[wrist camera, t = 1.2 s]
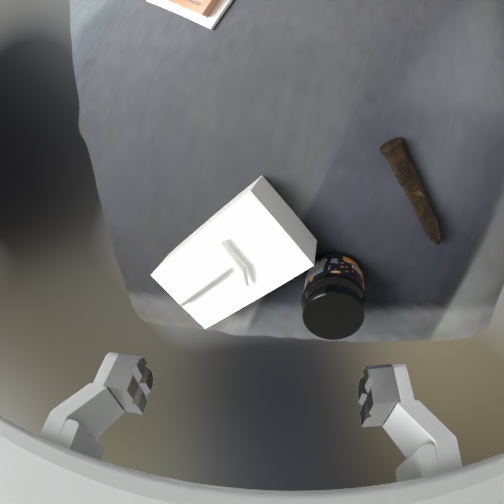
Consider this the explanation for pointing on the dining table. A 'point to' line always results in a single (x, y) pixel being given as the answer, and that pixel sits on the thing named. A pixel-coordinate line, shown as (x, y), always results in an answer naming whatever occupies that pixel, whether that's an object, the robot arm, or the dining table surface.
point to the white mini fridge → (237, 255)
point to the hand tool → (412, 186)
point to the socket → (196, 9)
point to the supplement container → (334, 296)
